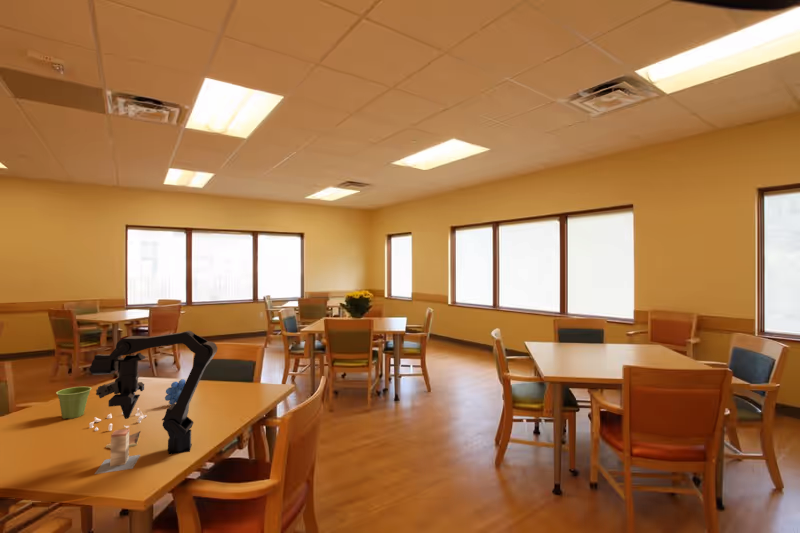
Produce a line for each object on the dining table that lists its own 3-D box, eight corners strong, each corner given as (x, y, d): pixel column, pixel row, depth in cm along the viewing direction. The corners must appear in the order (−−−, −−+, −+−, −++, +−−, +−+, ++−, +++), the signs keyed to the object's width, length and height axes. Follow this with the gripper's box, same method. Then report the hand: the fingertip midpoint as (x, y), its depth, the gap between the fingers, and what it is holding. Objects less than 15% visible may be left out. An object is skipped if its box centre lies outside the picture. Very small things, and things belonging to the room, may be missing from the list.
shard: (140, 435, 148) (140, 429, 148) (157, 439, 145) (157, 433, 145) (104, 449, 136) (104, 443, 136) (122, 454, 133) (122, 447, 133)
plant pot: (70, 422, 159) (71, 395, 159) (47, 419, 161) (48, 393, 162) (97, 412, 171) (98, 387, 171) (76, 410, 173) (77, 385, 173)
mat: (140, 455, 131) (140, 454, 131) (132, 469, 122) (132, 468, 122) (105, 460, 127) (105, 459, 127) (94, 475, 118) (94, 474, 118)
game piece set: (157, 417, 167) (157, 408, 167) (111, 435, 148) (112, 425, 148) (123, 412, 172) (123, 404, 172) (75, 429, 153) (75, 420, 153)
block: (128, 458, 128) (129, 428, 128) (125, 464, 124) (126, 433, 124) (114, 460, 126) (115, 430, 127) (110, 466, 123) (111, 435, 123)
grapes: (193, 400, 189) (193, 376, 189) (192, 404, 183) (192, 379, 183) (165, 403, 184) (166, 378, 184) (163, 407, 178) (164, 382, 178)
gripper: (108, 369, 138) (107, 412, 138) (89, 382, 121) (88, 432, 120) (145, 366, 142) (143, 408, 142) (131, 379, 125) (130, 427, 125)
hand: (126, 418), depth 132 cm, fingers closed
